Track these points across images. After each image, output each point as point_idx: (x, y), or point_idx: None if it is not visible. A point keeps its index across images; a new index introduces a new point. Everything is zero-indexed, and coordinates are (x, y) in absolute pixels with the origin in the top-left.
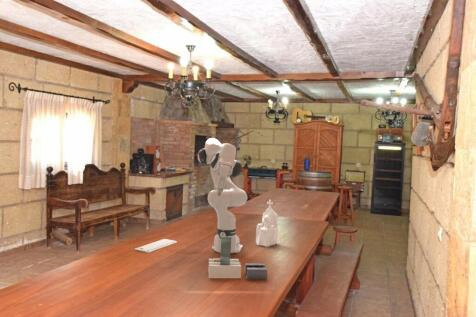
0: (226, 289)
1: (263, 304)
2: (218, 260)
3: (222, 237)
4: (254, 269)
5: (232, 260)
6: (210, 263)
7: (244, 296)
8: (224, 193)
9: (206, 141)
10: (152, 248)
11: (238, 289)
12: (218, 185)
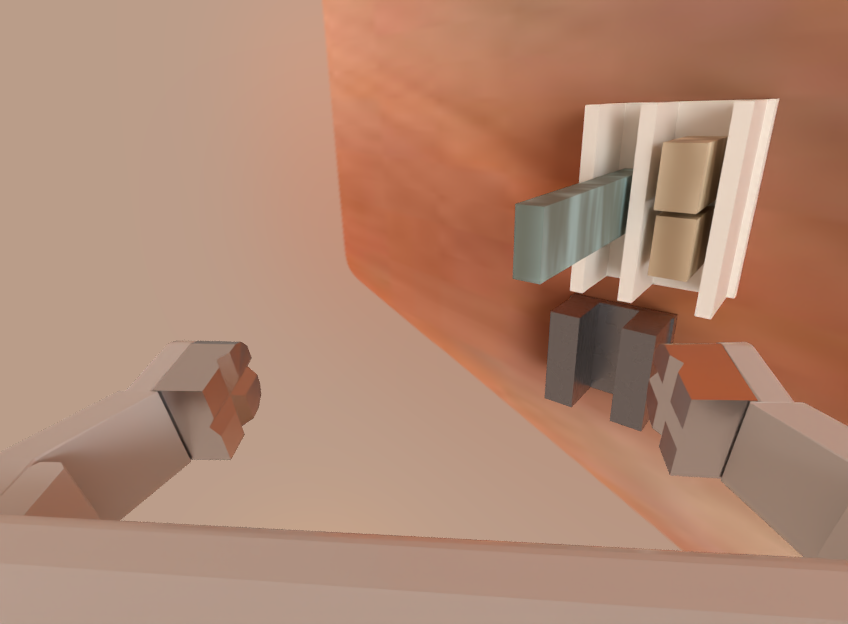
0: (489, 181)
1: (385, 278)
2: (659, 171)
3: (516, 211)
4: (549, 343)
5: (681, 269)
6: (640, 112)
7: (432, 237)
8: None
9: None
10: None
11: (489, 231)
12: (587, 550)
